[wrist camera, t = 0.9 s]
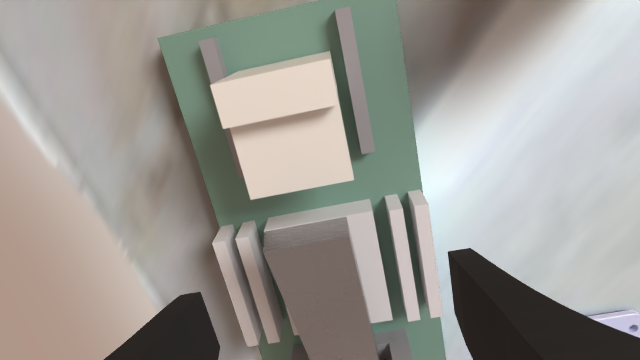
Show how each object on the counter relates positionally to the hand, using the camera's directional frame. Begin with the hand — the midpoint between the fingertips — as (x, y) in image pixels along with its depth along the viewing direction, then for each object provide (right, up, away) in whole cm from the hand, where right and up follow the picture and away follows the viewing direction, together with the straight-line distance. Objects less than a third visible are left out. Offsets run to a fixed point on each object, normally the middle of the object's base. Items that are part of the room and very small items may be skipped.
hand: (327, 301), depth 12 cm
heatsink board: (0, +2, +10) cm, 10 cm away
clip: (-1, +6, +6) cm, 9 cm away
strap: (0, -2, +7) cm, 7 cm away
